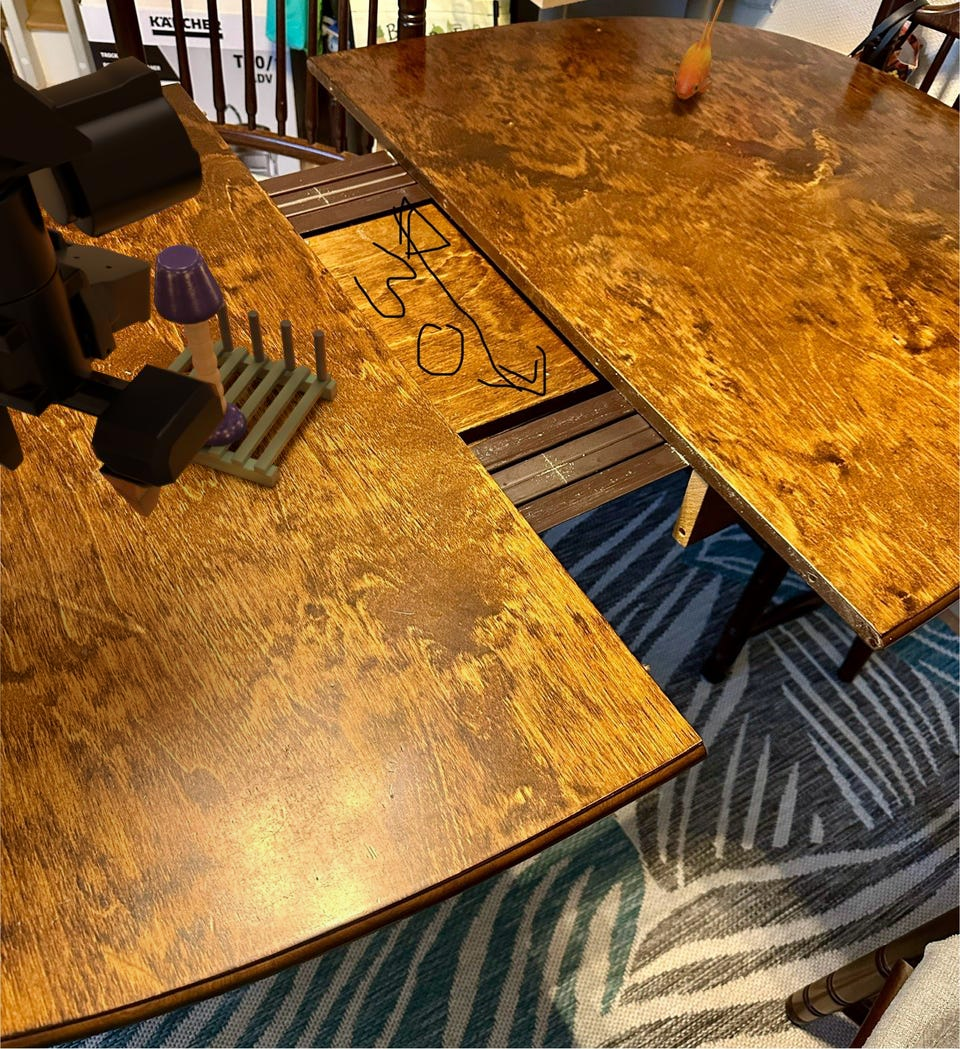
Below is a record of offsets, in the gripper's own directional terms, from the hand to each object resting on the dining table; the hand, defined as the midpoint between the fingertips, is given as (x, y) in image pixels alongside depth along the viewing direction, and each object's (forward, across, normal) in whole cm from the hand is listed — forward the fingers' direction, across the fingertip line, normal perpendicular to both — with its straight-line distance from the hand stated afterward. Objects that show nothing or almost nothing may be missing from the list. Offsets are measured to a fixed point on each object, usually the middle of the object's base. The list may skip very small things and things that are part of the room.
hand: (82, 487), depth 54 cm
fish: (+13, -22, -102) cm, 105 cm away
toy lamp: (+11, +2, -16) cm, 20 cm away
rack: (+13, +3, -20) cm, 24 cm away
